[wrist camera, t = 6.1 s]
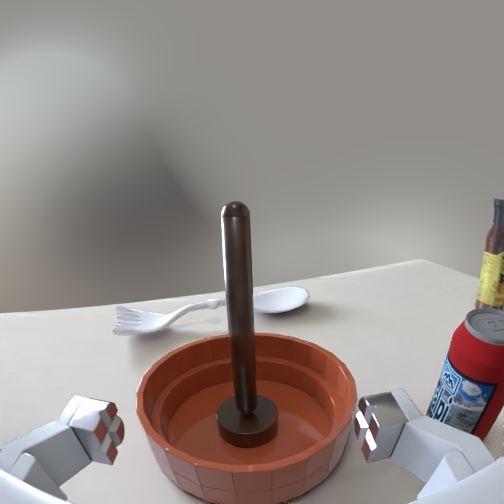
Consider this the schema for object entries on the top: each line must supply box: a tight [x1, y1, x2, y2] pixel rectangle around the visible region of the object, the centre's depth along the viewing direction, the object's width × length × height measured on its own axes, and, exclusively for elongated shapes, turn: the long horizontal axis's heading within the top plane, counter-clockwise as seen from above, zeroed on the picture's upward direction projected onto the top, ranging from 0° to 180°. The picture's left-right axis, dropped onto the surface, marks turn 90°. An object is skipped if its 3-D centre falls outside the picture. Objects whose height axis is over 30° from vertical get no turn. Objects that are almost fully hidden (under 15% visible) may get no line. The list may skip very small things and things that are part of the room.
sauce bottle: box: [476, 198, 504, 310], centre depth 37 cm, size 6×6×20 cm
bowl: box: [136, 333, 357, 504], centre depth 22 cm, size 17×17×6 cm
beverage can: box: [426, 308, 504, 442], centre depth 16 cm, size 7×7×12 cm
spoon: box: [112, 287, 310, 335], centre depth 45 cm, size 9×32×4 cm, turn 111°
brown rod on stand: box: [216, 201, 278, 448], centre depth 20 cm, size 5×5×19 cm
